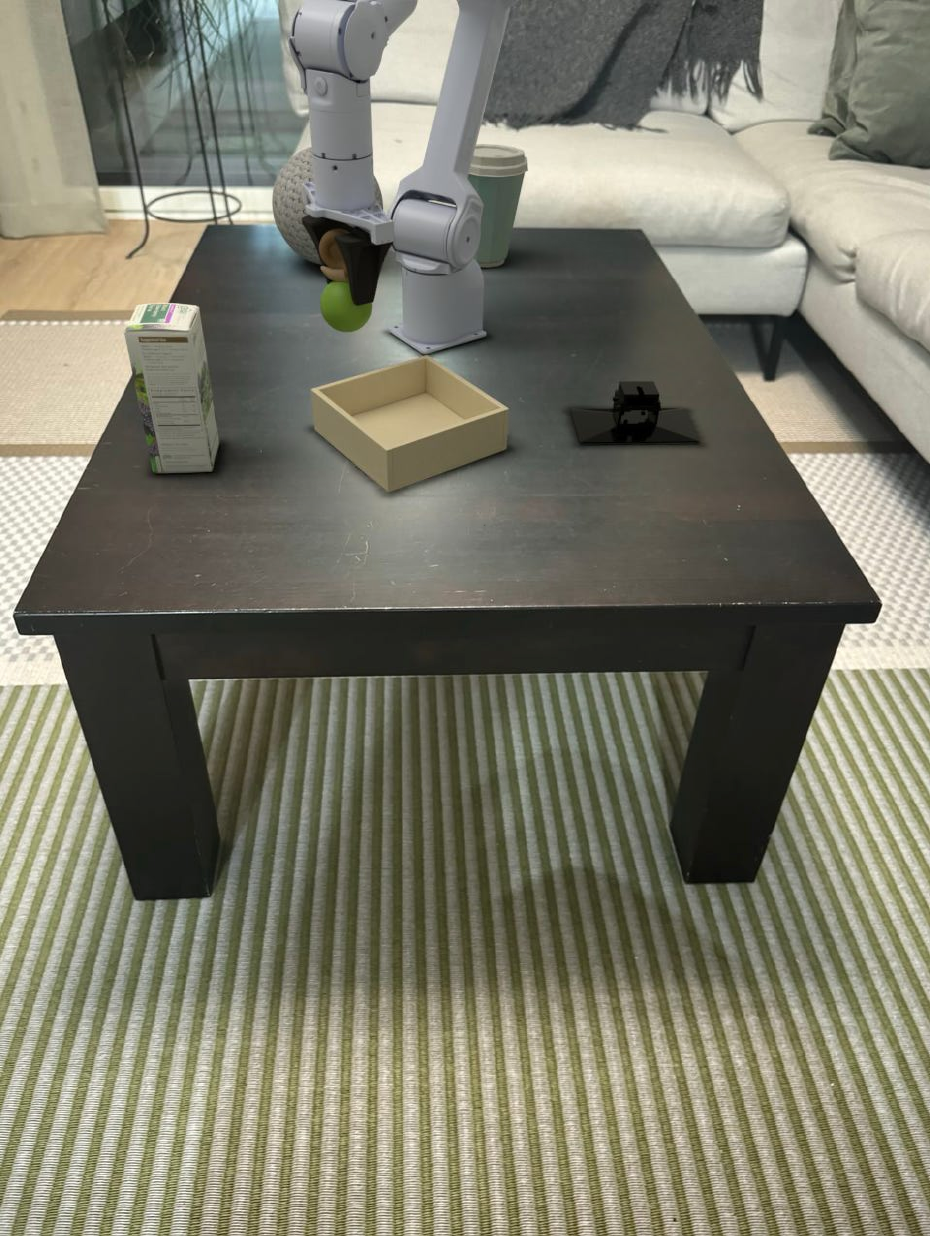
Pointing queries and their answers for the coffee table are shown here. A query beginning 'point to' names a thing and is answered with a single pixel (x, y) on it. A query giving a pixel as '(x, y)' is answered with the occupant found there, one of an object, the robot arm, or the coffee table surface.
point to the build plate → (634, 419)
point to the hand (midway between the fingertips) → (350, 294)
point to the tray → (409, 421)
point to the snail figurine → (339, 289)
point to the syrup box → (173, 386)
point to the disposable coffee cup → (497, 197)
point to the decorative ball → (298, 203)
